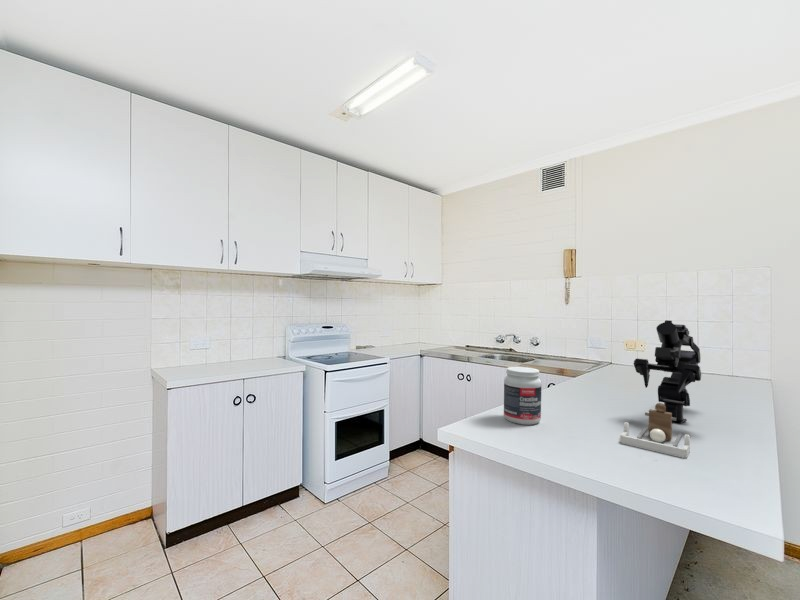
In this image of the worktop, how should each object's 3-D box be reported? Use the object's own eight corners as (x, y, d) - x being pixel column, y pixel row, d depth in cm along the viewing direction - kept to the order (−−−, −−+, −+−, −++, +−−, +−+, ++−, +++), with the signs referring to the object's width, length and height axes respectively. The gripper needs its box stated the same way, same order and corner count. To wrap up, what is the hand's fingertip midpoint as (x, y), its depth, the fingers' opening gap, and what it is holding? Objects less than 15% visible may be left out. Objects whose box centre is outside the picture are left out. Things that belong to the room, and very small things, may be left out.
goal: (624, 438, 118) (624, 421, 118) (689, 452, 107) (690, 435, 107) (619, 443, 113) (619, 426, 113) (687, 459, 102) (687, 441, 102)
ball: (652, 438, 117) (652, 425, 117) (667, 442, 114) (667, 429, 114) (647, 441, 115) (647, 428, 115) (662, 445, 112) (662, 432, 112)
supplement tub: (527, 428, 127) (528, 374, 127) (496, 419, 137) (496, 368, 137) (548, 421, 135) (548, 370, 135) (517, 412, 145) (517, 365, 145)
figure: (645, 433, 122) (646, 399, 122) (676, 439, 116) (676, 404, 116) (643, 435, 119) (644, 401, 119) (674, 442, 114) (675, 407, 114)
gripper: (635, 336, 137) (625, 371, 130) (699, 340, 124) (693, 379, 116) (641, 355, 143) (632, 389, 136) (704, 361, 129) (697, 400, 122)
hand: (661, 389), depth 127 cm, fingers open, 9 cm apart
